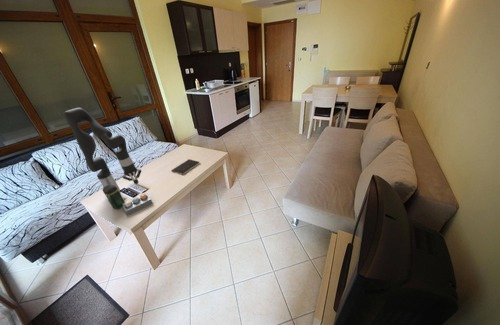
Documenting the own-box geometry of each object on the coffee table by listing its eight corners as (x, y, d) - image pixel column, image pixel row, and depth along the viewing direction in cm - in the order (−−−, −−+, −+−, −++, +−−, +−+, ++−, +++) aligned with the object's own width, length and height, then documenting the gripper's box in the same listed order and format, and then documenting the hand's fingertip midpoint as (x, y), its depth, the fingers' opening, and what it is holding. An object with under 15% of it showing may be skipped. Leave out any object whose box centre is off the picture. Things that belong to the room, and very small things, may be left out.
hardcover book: (200, 163, 196) (199, 161, 195) (182, 175, 180) (182, 173, 179) (189, 160, 204) (188, 159, 203) (171, 172, 187) (171, 170, 186)
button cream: (126, 206, 144) (123, 202, 142) (131, 204, 146) (129, 200, 144) (127, 209, 141) (124, 205, 139) (133, 206, 143) (130, 202, 141)
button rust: (141, 199, 150) (139, 195, 148) (146, 196, 152) (144, 193, 150) (142, 201, 147) (140, 197, 145) (148, 199, 149) (146, 195, 147)
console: (124, 207, 147) (122, 203, 145) (148, 196, 157) (146, 192, 155) (127, 215, 139) (125, 211, 137) (152, 203, 148) (150, 199, 146)
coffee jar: (127, 204, 151) (117, 185, 141) (117, 210, 145) (106, 191, 136) (121, 200, 155) (110, 182, 146) (111, 207, 149) (99, 188, 140)
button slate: (133, 203, 147) (131, 199, 145) (139, 200, 149) (137, 196, 147) (135, 205, 144) (132, 201, 142) (140, 202, 146) (138, 198, 144)
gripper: (135, 158, 139) (144, 177, 148) (115, 165, 132) (126, 185, 141) (138, 161, 134) (147, 181, 142) (117, 169, 127) (128, 189, 136)
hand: (136, 183), depth 142 cm, fingers closed
